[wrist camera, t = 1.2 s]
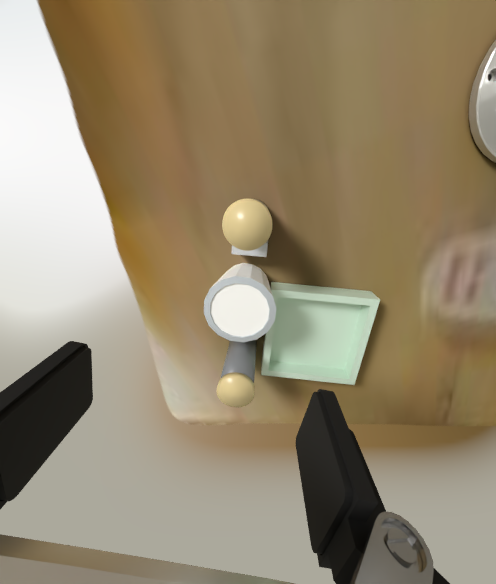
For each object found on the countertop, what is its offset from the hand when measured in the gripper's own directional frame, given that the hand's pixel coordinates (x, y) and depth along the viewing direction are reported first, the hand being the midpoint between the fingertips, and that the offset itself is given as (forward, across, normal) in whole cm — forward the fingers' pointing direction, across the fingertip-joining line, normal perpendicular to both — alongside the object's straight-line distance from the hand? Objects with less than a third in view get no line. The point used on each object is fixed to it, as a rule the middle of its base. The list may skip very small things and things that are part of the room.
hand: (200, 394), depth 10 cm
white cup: (+20, -1, +2) cm, 20 cm away
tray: (+19, -11, +6) cm, 23 cm away
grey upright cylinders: (+20, -2, +2) cm, 20 cm away
